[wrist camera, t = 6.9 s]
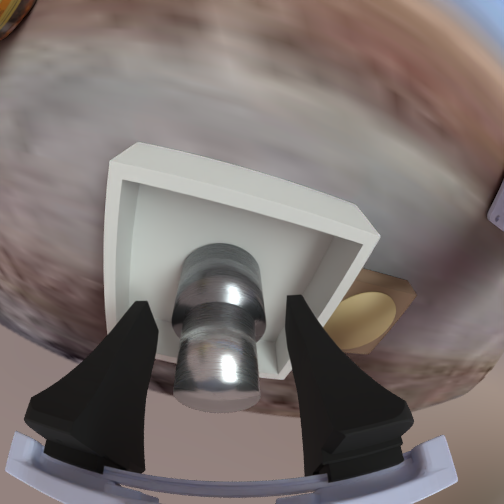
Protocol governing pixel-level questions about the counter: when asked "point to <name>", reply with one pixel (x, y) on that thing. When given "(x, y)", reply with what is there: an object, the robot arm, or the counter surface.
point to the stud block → (368, 311)
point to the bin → (225, 240)
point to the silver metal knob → (218, 329)
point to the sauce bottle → (12, 14)
